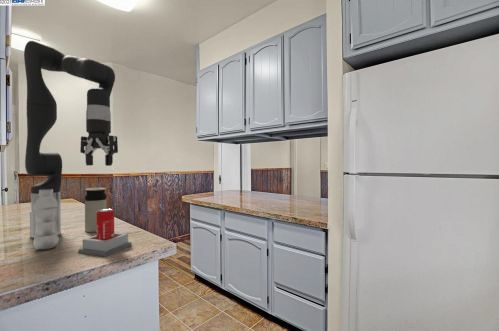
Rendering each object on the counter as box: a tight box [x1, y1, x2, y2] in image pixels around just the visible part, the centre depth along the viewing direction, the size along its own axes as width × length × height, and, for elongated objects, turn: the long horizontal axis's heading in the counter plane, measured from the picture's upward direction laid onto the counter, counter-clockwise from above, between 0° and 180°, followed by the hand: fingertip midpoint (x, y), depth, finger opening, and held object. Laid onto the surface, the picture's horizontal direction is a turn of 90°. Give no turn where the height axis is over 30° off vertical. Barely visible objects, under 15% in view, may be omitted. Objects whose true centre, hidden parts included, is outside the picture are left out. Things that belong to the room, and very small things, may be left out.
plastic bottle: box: [33, 189, 60, 250], centre depth 86 cm, size 6×7×20 cm
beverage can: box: [96, 208, 115, 240], centre depth 86 cm, size 5×5×12 cm
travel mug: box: [84, 187, 107, 233], centre depth 110 cm, size 8×8×18 cm
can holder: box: [78, 232, 132, 257], centre depth 86 cm, size 11×11×4 cm
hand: (99, 165), depth 90 cm, fingers open, 8 cm apart
